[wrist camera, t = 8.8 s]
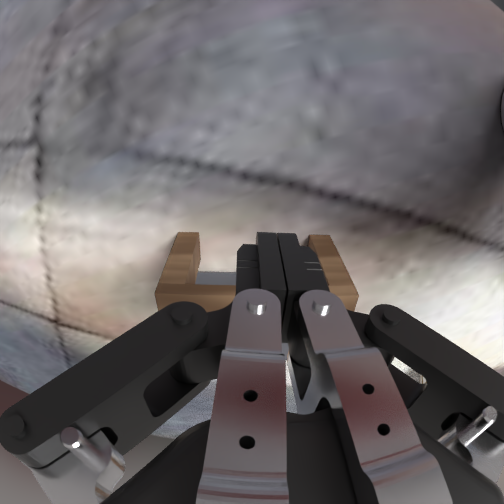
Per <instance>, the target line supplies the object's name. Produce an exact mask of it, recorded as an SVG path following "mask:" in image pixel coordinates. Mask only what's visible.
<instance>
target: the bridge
mask: <svg viewBox="0 0 504 504" xmlns="http://www.w3.org/2000/svg"><path fill="white" fill-rule="evenodd" d="M308 247H310V248H311V249H312V250H313V251H314V252H315V253H316V254H317V257H318V259H319V264H320V265H321V267H322V270H323V273H324V276H325V278H326V281H327V284H328V287H329V290H330V292H331V293H333V294H335V295H336V296H338V297H339V298H340V299H341V300H342V302H343V304H344V306H345V308H346V309H348V310H350V311H354V310H355V307H356V303H357V300H358V297H359V294H358V292H357V290H356V288H355V286H354V284H353V282H352V280H351V277H350V275H349V273H348V271H347V269H346V267H345V265H344V263H343V261H342V259H341V257H340V255H339V253H338V251H337V249H336V247H335V245H334V243H333V241H332V239H331V237H330V235H310V237H309V244H308ZM200 260H201V258H200V242H199V233H197V232H178V235H177V237H176V240H175V242H174V244H173V247H172V249H171V252H170V254H169V257H168V259H167V262H166V265H165V267H164V270H163V272H162V275H161V278H160V280H159V283H158V286H157V288H156V291H155V298H156V302H157V307H158V311H160V310H161V309H163V308H164V307H166V306H167V305H169V304H172V303H175V302H180V301H188V302H193V303H196V304H198V305H200V306H201V307H203V308H204V309H205V311H206V312H211V311H216V310H219V309H222V308H224V307H226V306H228V305H229V304H230V303H231V302H232V301H233V299H234V297H235V294H236V285H201V284H195V282H196V277H197V273H198V268H199V264H200Z"/></svg>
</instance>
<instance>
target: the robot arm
mask: <svg viewBox="0 0 504 504" xmlns="http://www.w3.org/2000/svg"><path fill="white" fill-rule="evenodd" d="M501 118H502V125H503V129H504V92H503V96H502V103H501ZM282 343H288V346H289V352H288V357H287V364H288V369H289V373H290V378H291V382H292V387H293V391H294V396H295V400H296V405H297V414H296V413H290V412H286V364H285V355H284V354H282ZM394 357H396V358H397V359H399V360H400V361H402V362H403V363H405V364H406V365H408V366H409V367H410V368H412V369H413V370H415V371H416V372H418V373H419V374H421V375H422V376H423V377H424V378H425V379H426V382H427V383H424V384H421V383H418V382H416V381H415V380H413V379H412V378H410V377H409V376H408V375H406V374H405V373H403V372H402V371H400V370H399V369H398V368H396V367H395V366H393V365H392V364H391V363H392V361H393V359H394ZM213 379H217V384H216V390H215V396H214V402H213V409H212V415H211V419H210V420H207V421H204V422H202V423H199V424H197V425H195V426H193V427H191V428H189V429H188V430H186V431H185V432H183V433H182V434H181V435H179V436H178V437H177V438H176V439H175V440H174V441H173V442H172V443H171V444H170V445H169V446H167V447H166V448H165V449H164V450H163V451H162V452H161V453H160V454H158V455H157V456H156V457H155V458H154V459H153V460H152V461H151V462H150V463H148V464H147V465H146V466H145V467H144V468H143V469H141V470H140V471H139V472H138V473H137V474H135V475H134V476H133V477H132V478H131V479H129V480H128V481H127V482H126V483H125V484H123V485H122V486H121V487H120V488H119V489H117V490H116V491H115V492H114V493H112V490H113V487H114V486H115V484H117V482H118V481H119V480H120V479H121V478H122V476H123V474H124V471H125V463H124V459H123V457H122V456H123V455H124V454H126V453H127V452H128V451H129V450H131V449H132V448H133V447H135V446H136V445H137V444H139V443H140V442H141V441H142V440H144V439H145V438H146V437H147V436H149V435H150V434H151V433H152V432H154V431H155V430H156V429H157V428H159V427H160V426H161V425H162V424H163V423H165V422H166V421H167V420H168V419H170V418H171V417H172V416H173V415H174V414H176V413H177V412H178V411H179V410H180V409H181V408H183V407H184V406H185V405H186V404H187V403H188V402H190V401H191V400H192V399H193V398H194V397H195V396H197V395H198V394H199V393H200V392H201V391H202V390H203V389H205V388H206V387H207V386H208V385H209V383H210V381H211V380H213ZM0 443H1V445H2V446H3V447H4V448H5V449H6V450H7V451H9V452H10V453H11V454H12V455H14V456H15V457H16V458H18V459H19V460H20V461H21V462H22V463H23V464H24V465H26V466H27V467H28V468H29V469H30V470H31V471H32V473H33V475H34V476H35V478H36V479H37V481H38V483H39V484H40V486H41V487H42V489H43V490H44V492H45V494H46V495H47V497H48V498H49V499H50V501H51V502H52V504H504V496H503V494H502V492H501V490H500V488H499V487H498V486H497V484H496V483H497V481H498V479H499V476H500V474H501V471H502V469H503V466H504V377H503V376H502V375H500V374H499V373H497V372H496V371H495V370H493V369H492V368H490V367H489V366H487V365H486V364H484V363H483V362H481V361H480V360H478V359H477V358H475V357H474V356H472V355H471V354H469V353H468V352H466V351H465V350H463V349H462V348H460V347H459V346H457V345H456V344H454V343H453V342H451V341H449V340H448V339H446V338H445V337H443V336H442V335H440V334H439V333H437V332H436V331H434V330H432V329H431V328H429V327H428V326H426V325H425V324H423V323H422V322H420V321H418V320H417V319H415V318H414V317H412V316H411V315H409V314H407V313H406V312H404V311H403V310H401V309H399V308H397V307H395V306H392V305H387V304H381V305H377V306H375V307H374V308H372V310H371V311H370V314H369V315H367V314H363V313H358V312H354V311H350V310H348V309H346V308H345V306H344V304H343V302H342V300H341V299H340V298H339V297H338V296H336V295H335V294H333V293H331V292H330V290H329V287H328V284H327V281H326V278H325V276H324V273H323V270H322V267H321V265H320V264H319V259H318V257H317V254H316V253H315V252H314V251H313V250H312V249H311V248H310V247H308V246H300V245H299V242H298V239H297V235H296V234H294V233H277V234H276V233H268V232H257V235H256V245H253V244H243V245H242V246H241V247H240V248H239V250H238V251H237V270H236V294H235V297H234V299H233V301H232V302H231V303H230V304H229V305H228V306H226V307H224V308H222V309H219V310H216V311H211V312H206V311H205V309H204V308H203V307H201V306H200V305H198V304H196V303H193V302H188V301H180V302H175V303H172V304H169V305H167V306H166V307H164V308H163V309H161V310H160V311H158V312H156V313H155V314H153V315H152V316H150V317H149V318H147V319H146V320H144V321H142V322H141V323H139V324H138V325H136V326H135V327H133V328H132V329H130V330H129V331H127V332H125V333H124V334H122V335H121V336H119V337H118V338H116V339H115V340H113V341H112V342H110V343H108V344H107V345H105V346H104V347H102V348H101V349H99V350H98V351H96V352H95V353H93V354H91V355H90V356H88V357H87V358H85V359H84V360H82V361H81V362H79V363H78V364H76V365H74V366H73V367H71V368H70V369H68V370H67V371H65V372H64V373H62V374H61V375H59V376H57V377H56V378H54V379H53V380H51V381H50V382H48V383H47V384H45V385H44V386H42V387H40V388H39V389H37V390H36V391H34V392H33V393H31V394H30V395H28V396H27V397H25V398H24V399H22V400H20V401H19V402H17V403H16V404H14V405H13V406H11V407H10V408H8V409H7V410H6V411H5V412H4V413H3V414H2V416H1V417H0ZM111 493H112V494H111Z"/></svg>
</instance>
